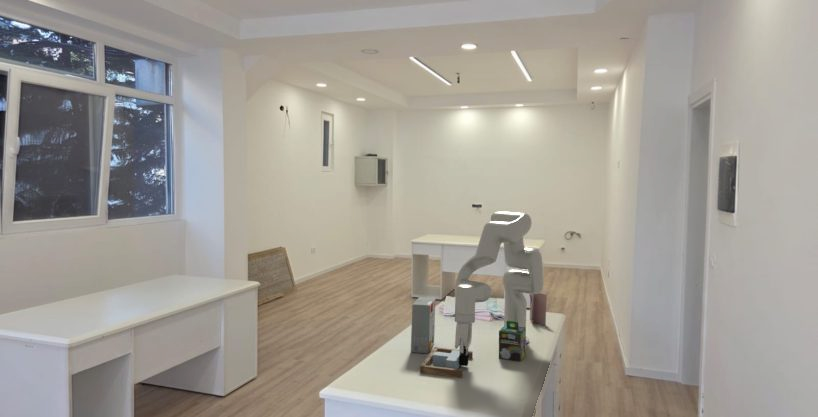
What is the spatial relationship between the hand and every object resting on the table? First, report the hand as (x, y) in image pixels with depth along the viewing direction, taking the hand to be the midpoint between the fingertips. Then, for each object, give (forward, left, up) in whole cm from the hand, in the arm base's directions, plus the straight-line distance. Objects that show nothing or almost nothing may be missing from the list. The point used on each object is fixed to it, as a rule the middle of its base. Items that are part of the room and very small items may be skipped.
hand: (463, 364), depth 201 cm
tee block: (0, -7, -1) cm, 7 cm away
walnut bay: (0, -6, -1) cm, 6 cm away
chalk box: (-18, +17, -1) cm, 24 cm away
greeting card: (-74, +23, -1) cm, 78 cm away
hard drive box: (-17, -21, -1) cm, 27 cm away
